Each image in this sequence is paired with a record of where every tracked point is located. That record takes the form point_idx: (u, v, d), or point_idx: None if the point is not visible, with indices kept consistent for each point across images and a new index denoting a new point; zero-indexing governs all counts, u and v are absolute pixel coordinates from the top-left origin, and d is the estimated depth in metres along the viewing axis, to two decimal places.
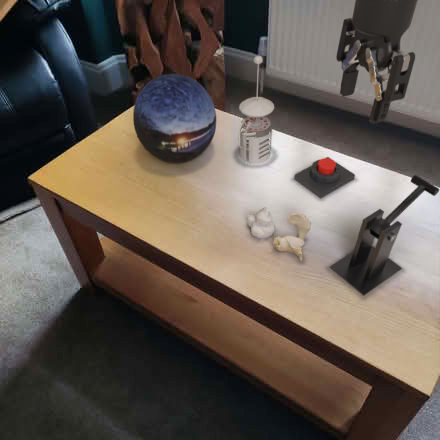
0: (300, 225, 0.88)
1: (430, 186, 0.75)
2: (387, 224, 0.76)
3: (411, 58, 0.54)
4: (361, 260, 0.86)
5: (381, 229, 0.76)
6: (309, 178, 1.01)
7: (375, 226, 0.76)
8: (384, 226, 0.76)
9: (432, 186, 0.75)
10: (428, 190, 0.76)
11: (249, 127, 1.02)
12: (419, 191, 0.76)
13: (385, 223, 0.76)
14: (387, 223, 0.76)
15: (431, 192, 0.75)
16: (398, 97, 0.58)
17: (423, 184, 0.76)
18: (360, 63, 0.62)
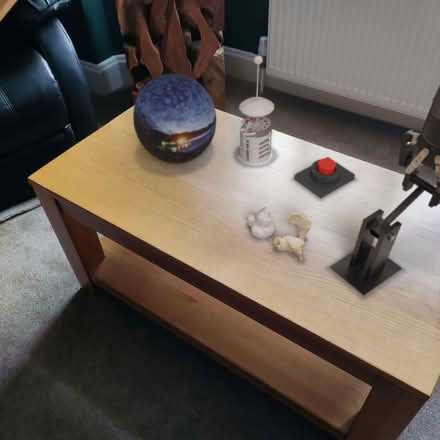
0: (300, 225, 0.88)
1: (430, 186, 0.75)
2: (387, 224, 0.76)
3: None
4: (361, 260, 0.86)
5: (381, 229, 0.76)
6: (309, 178, 1.01)
7: (375, 226, 0.76)
8: (384, 226, 0.76)
9: (432, 186, 0.75)
10: (428, 190, 0.76)
11: (249, 127, 1.02)
12: (419, 191, 0.76)
13: (385, 223, 0.76)
14: (387, 223, 0.76)
15: (431, 192, 0.75)
16: None
17: (423, 184, 0.76)
18: (424, 163, 0.73)
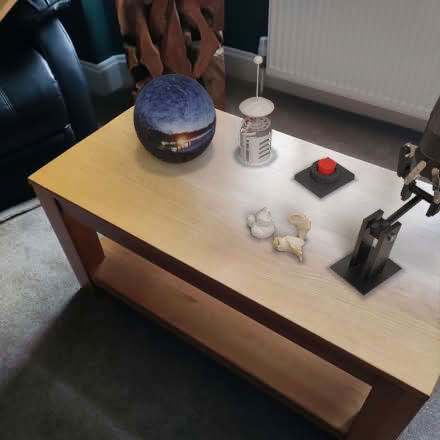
0: (300, 225, 0.88)
1: (429, 195, 0.78)
2: (388, 224, 0.76)
3: None
4: (361, 260, 0.86)
5: (382, 228, 0.76)
6: (309, 178, 1.01)
7: (376, 225, 0.76)
8: (385, 225, 0.76)
9: (430, 195, 0.78)
10: (426, 198, 0.78)
11: (249, 127, 1.02)
12: (418, 198, 0.78)
13: (386, 223, 0.76)
14: (388, 223, 0.76)
15: (429, 200, 0.78)
16: None
17: (421, 192, 0.79)
18: (422, 174, 0.76)
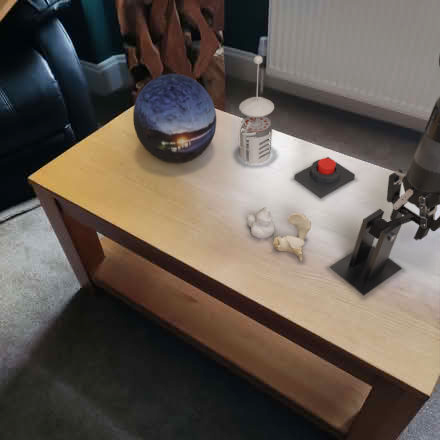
0: (300, 225, 0.88)
1: None
2: (389, 224, 0.76)
3: None
4: (361, 260, 0.86)
5: (385, 226, 0.76)
6: (309, 178, 1.01)
7: (379, 222, 0.76)
8: (387, 225, 0.76)
9: None
10: (417, 219, 0.82)
11: (249, 127, 1.02)
12: (410, 217, 0.82)
13: (388, 223, 0.76)
14: (389, 224, 0.76)
15: (420, 221, 0.82)
16: None
17: (412, 214, 0.83)
18: (409, 201, 0.80)
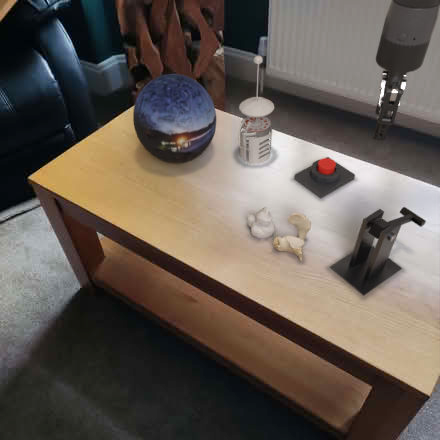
0: (300, 225, 0.88)
1: (419, 217, 0.82)
2: (389, 224, 0.76)
3: (398, 93, 0.69)
4: (361, 260, 0.86)
5: (385, 226, 0.76)
6: (309, 178, 1.01)
7: (379, 222, 0.76)
8: (387, 225, 0.76)
9: (420, 217, 0.82)
10: (417, 219, 0.82)
11: (249, 127, 1.02)
12: (410, 217, 0.82)
13: (388, 223, 0.76)
14: (389, 224, 0.76)
15: (420, 221, 0.82)
16: (387, 121, 0.72)
17: (412, 214, 0.83)
18: None
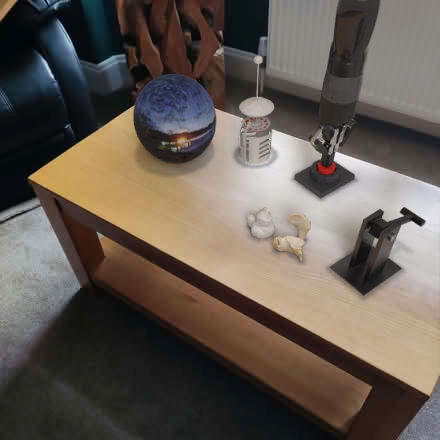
0: (300, 225, 0.88)
1: (419, 217, 0.82)
2: (389, 224, 0.76)
3: (314, 143, 0.91)
4: (361, 260, 0.86)
5: (385, 226, 0.76)
6: (309, 178, 1.01)
7: (379, 222, 0.76)
8: (387, 225, 0.76)
9: (420, 217, 0.82)
10: (417, 219, 0.82)
11: (249, 127, 1.02)
12: (410, 217, 0.82)
13: (388, 223, 0.76)
14: (389, 224, 0.76)
15: (420, 221, 0.82)
16: (320, 151, 0.95)
17: (412, 214, 0.83)
18: None
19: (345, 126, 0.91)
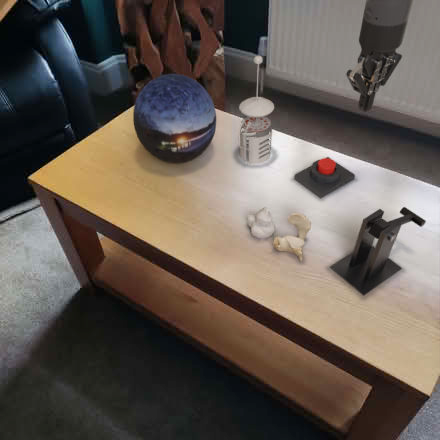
0: (300, 225, 0.88)
1: (419, 217, 0.82)
2: (389, 224, 0.76)
3: (353, 78, 0.79)
4: (361, 260, 0.86)
5: (385, 226, 0.76)
6: (309, 178, 1.01)
7: (379, 222, 0.76)
8: (387, 225, 0.76)
9: (420, 217, 0.82)
10: (417, 219, 0.82)
11: (249, 127, 1.02)
12: (410, 217, 0.82)
13: (388, 223, 0.76)
14: (389, 224, 0.76)
15: (420, 221, 0.82)
16: (359, 90, 0.83)
17: (412, 214, 0.83)
18: None
19: (389, 58, 0.79)
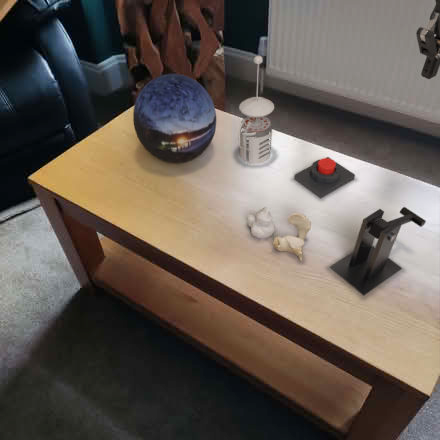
0: (300, 225, 0.88)
1: (419, 217, 0.82)
2: (389, 224, 0.76)
3: (425, 37, 0.70)
4: (361, 260, 0.86)
5: (385, 226, 0.76)
6: (309, 178, 1.01)
7: (379, 222, 0.76)
8: (387, 225, 0.76)
9: (420, 217, 0.82)
10: (417, 219, 0.82)
11: (249, 127, 1.02)
12: (410, 217, 0.82)
13: (388, 223, 0.76)
14: (389, 224, 0.76)
15: (420, 221, 0.82)
16: (427, 53, 0.74)
17: (412, 214, 0.83)
18: None
19: None
